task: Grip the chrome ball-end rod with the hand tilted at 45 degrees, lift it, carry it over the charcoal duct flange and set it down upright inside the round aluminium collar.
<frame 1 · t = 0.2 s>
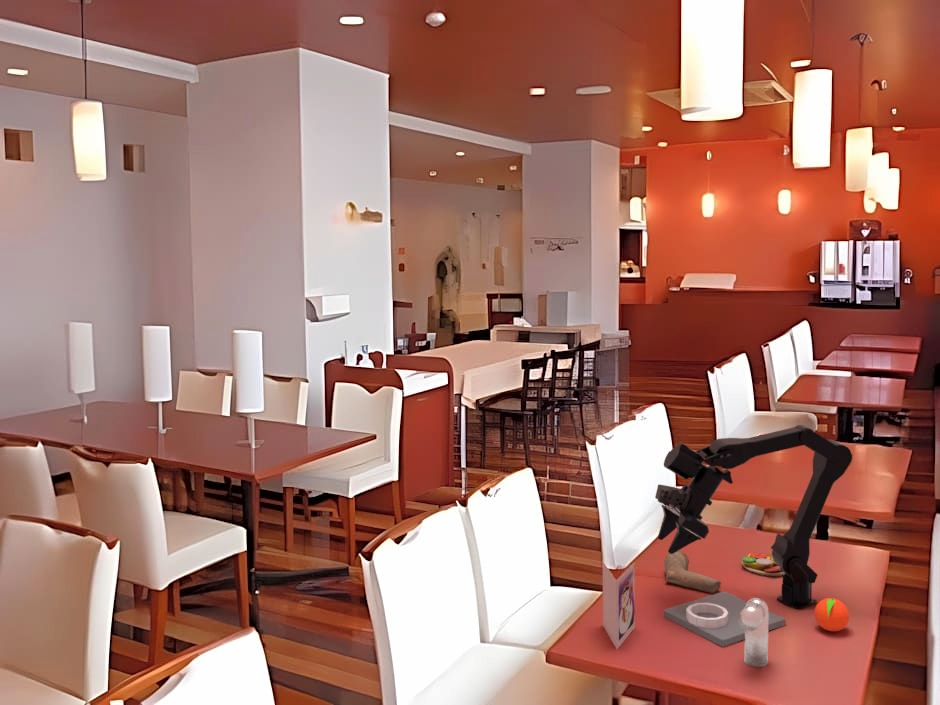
hand: (664, 545, 199), 15 cm above the table, tool tilted 35°, fingers open, 9 cm apart
clementine: (830, 631, 187), on the table
greeting card: (613, 636, 188), on the table
pipe: (691, 584, 215), on the table
toy food set: (768, 569, 223), on the table
chrome ball-end rod: (755, 661, 175), on the table
duct flange: (723, 620, 193), on the table
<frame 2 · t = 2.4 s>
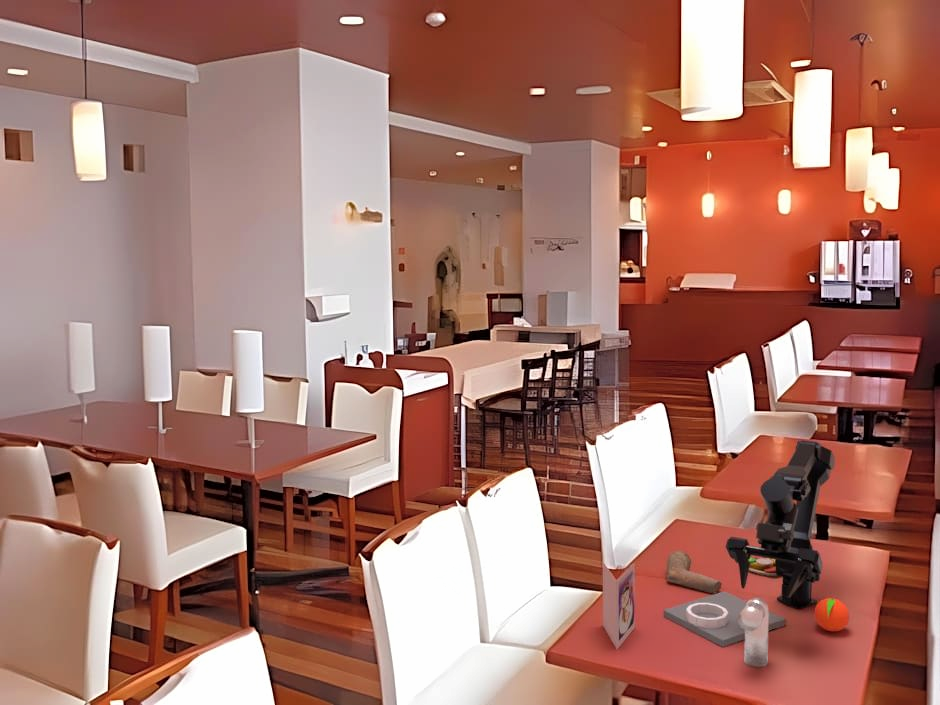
hand: (765, 592, 178), 12 cm above the table, tool tilted 45°, fingers open, 9 cm apart
nothing on the table moved.
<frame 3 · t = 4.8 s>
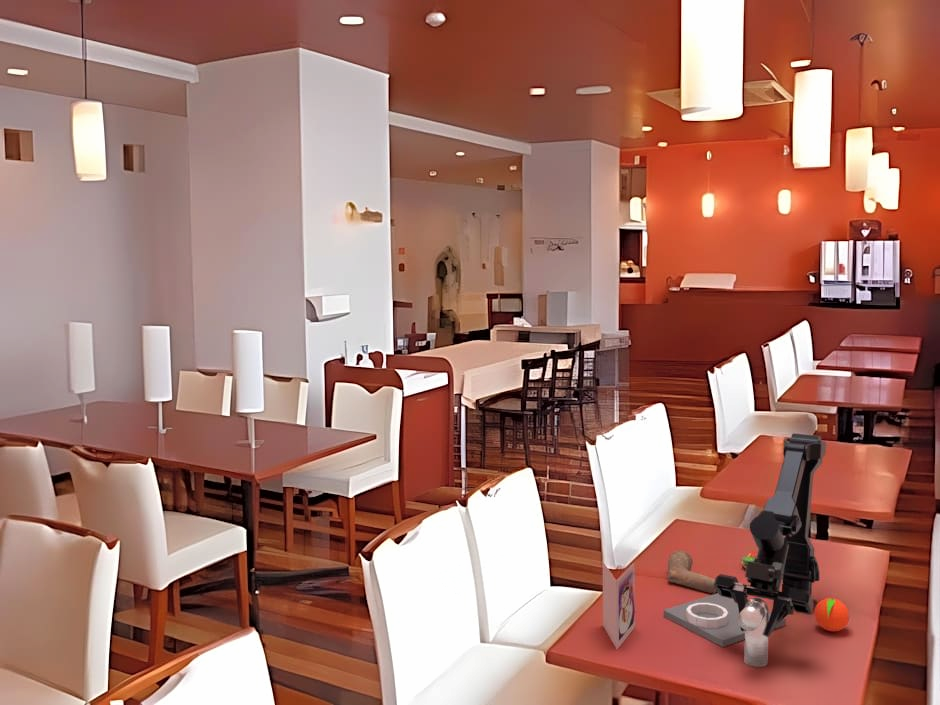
hand: (754, 633, 173), 7 cm above the table, tool tilted 45°, fingers closed on chrome ball-end rod, 4 cm apart
chrome ball-end rod: (755, 661, 175), on the table, touching gripper
everything else where it was.
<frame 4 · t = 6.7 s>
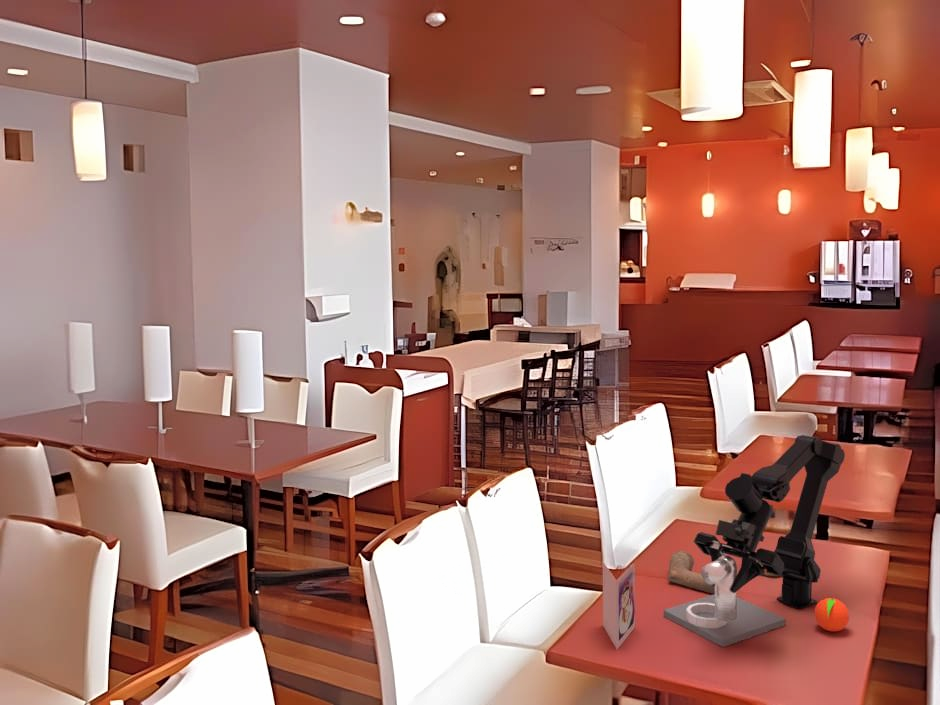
hand: (722, 588, 180), 12 cm above the table, tool tilted 45°, fingers closed on chrome ball-end rod, 4 cm apart
chrome ball-end rod: (725, 616, 182), point 6 cm above the table, touching gripper
everything else where it was.
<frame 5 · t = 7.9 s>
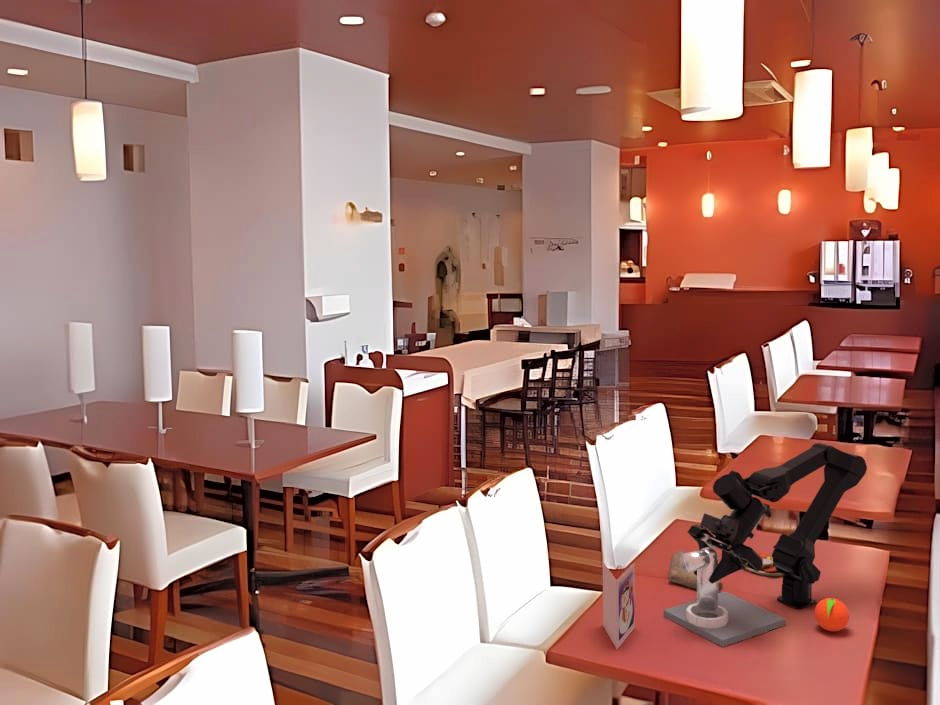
hand: (702, 578, 189), 11 cm above the table, tool tilted 45°, fingers closed on chrome ball-end rod, 4 cm apart
chrome ball-end rod: (707, 605, 190), point 5 cm above the table, touching gripper
everything else where it was.
when the fingers open (9 cm above the table, at t = 8.7 s): chrome ball-end rod stays where it is, resting on duct flange.
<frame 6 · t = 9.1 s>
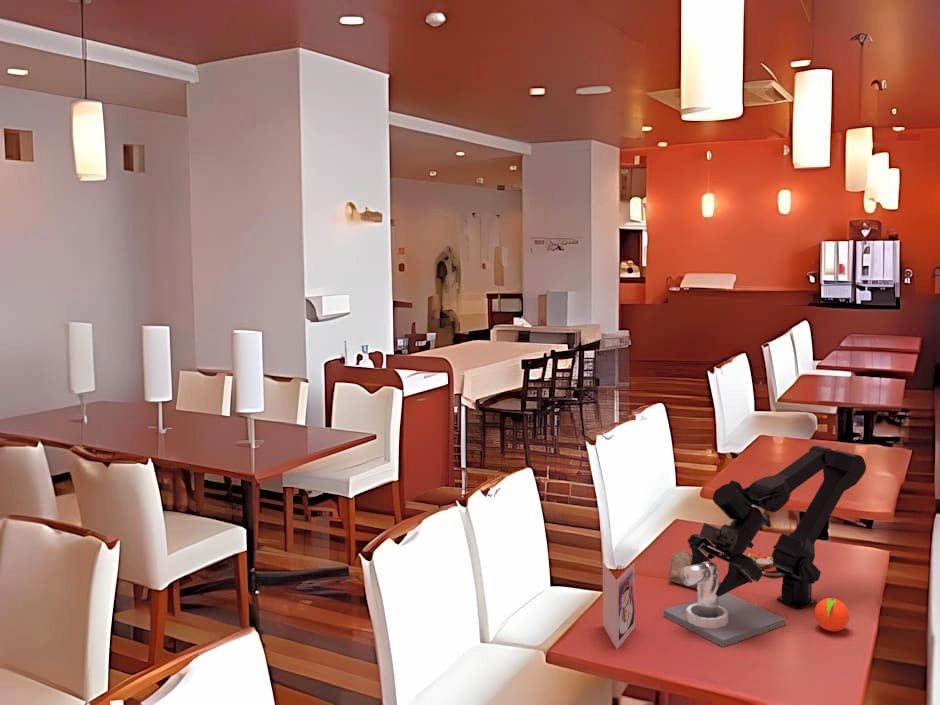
hand: (702, 588, 189), 9 cm above the table, tool tilted 45°, fingers open, 9 cm apart
chrome ball-end rod: (707, 619, 191), point 2 cm above the table, touching duct flange
everything else where it was.
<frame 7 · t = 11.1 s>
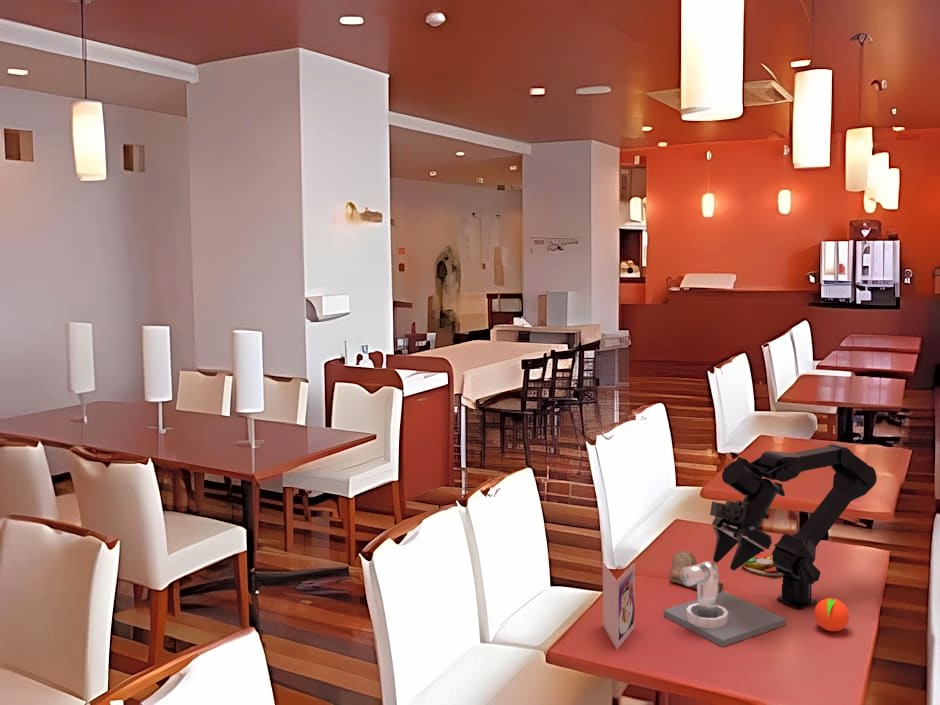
hand: (723, 565, 192), 13 cm above the table, tool tilted 35°, fingers open, 9 cm apart
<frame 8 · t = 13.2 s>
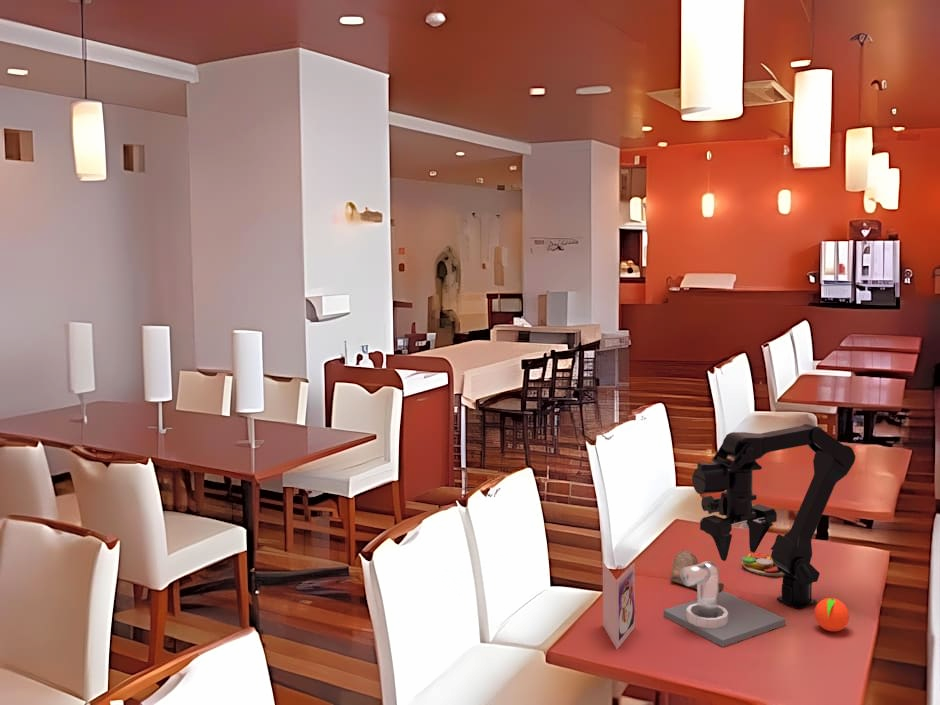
hand: (738, 556, 197), 13 cm above the table, tool pointing down, fingers open, 9 cm apart
at the end: chrome ball-end rod 0.1 cm from the target spot on the duct flange, point 1.5 cm above the duct flange's base; chrome ball-end rod tilted 0°; the gripper is holding nothing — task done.
